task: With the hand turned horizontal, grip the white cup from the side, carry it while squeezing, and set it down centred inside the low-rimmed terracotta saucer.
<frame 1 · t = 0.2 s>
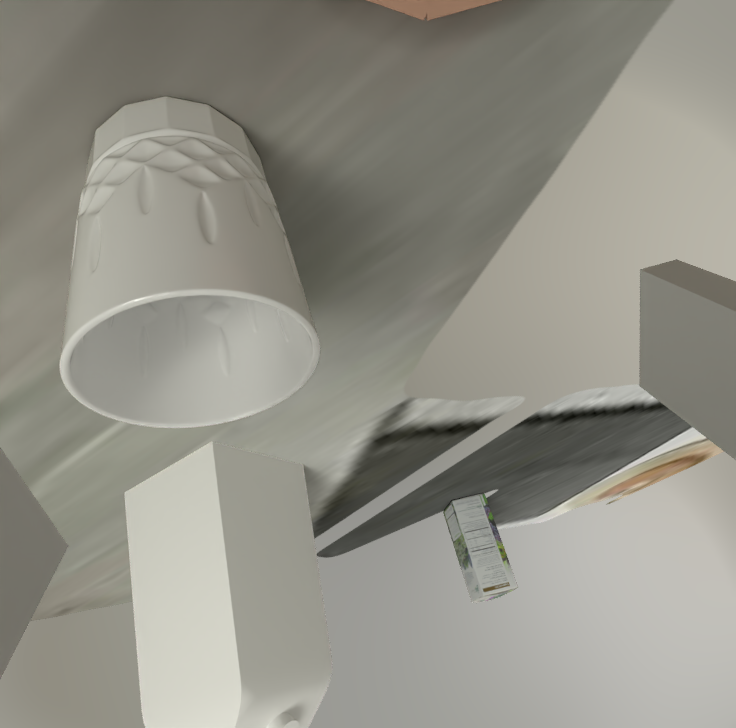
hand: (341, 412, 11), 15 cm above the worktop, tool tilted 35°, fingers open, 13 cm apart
syrup box: (461, 500, 84), on the worktop
milk: (218, 475, 50), on the worktop
white cup: (179, 169, 22), on the worktop
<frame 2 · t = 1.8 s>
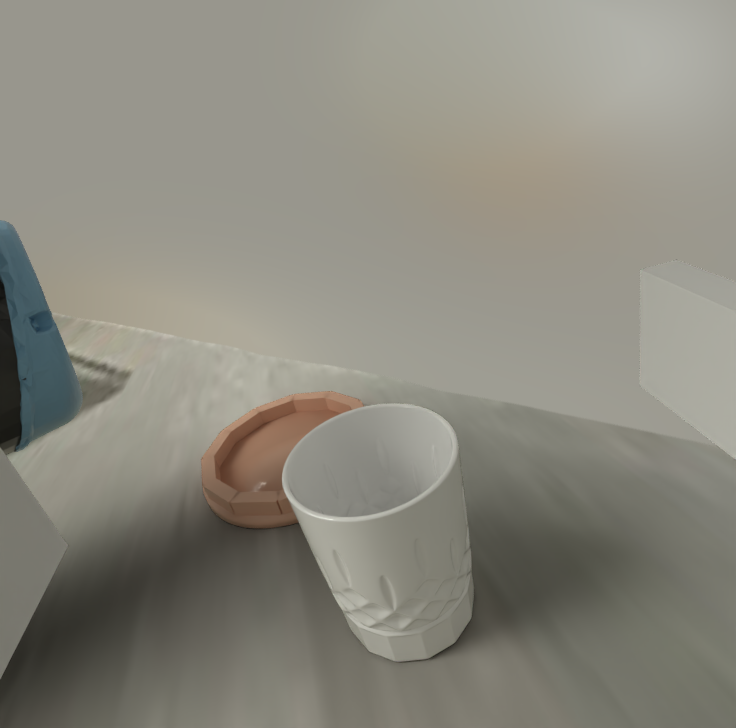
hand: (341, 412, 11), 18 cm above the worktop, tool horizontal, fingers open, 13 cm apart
saucer: (294, 460, 41), on the worktop
white cup: (411, 603, 28), on the worktop
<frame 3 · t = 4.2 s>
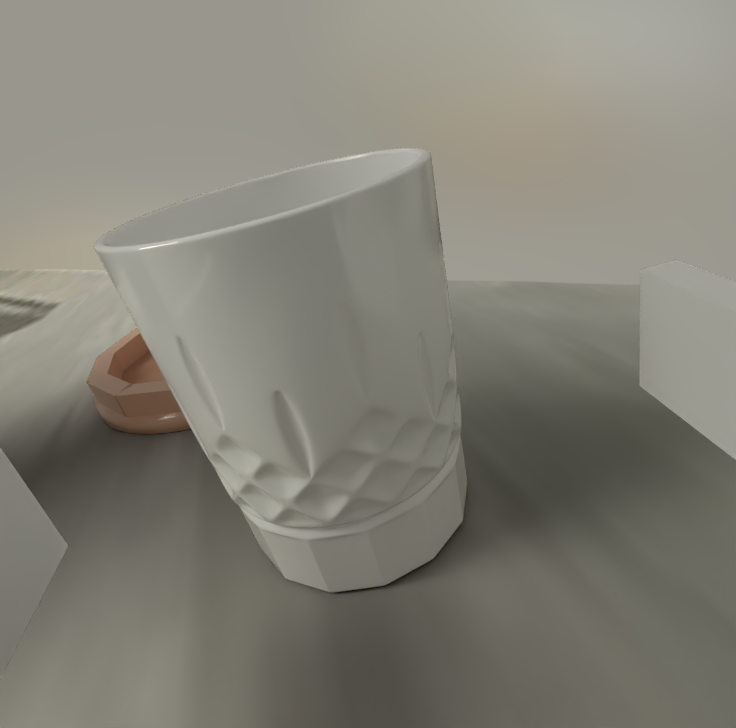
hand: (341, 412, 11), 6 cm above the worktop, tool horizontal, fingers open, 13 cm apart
saucer: (224, 360, 30), on the worktop
white cup: (365, 509, 17), on the worktop
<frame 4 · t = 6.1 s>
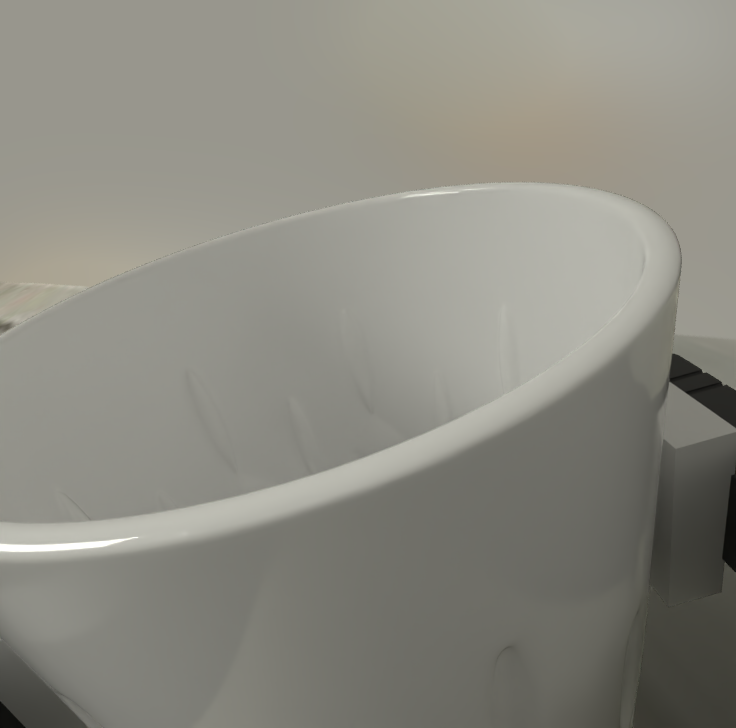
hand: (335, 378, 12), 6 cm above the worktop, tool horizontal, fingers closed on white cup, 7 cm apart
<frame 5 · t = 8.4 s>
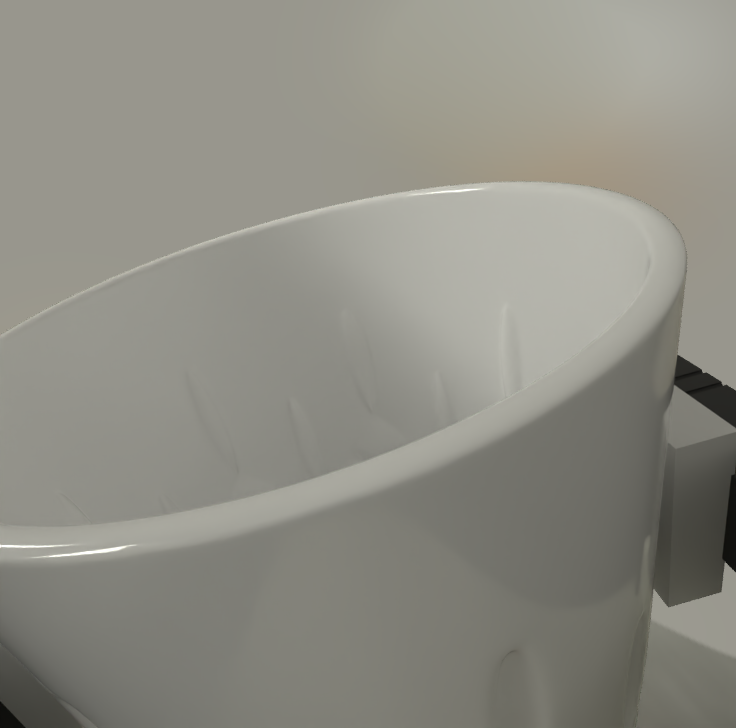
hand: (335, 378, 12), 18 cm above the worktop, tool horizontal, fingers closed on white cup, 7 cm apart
when the fingers open (8 cm above the worktop, at t = 10.9 s): white cup drops 1 cm, resting on saucer.
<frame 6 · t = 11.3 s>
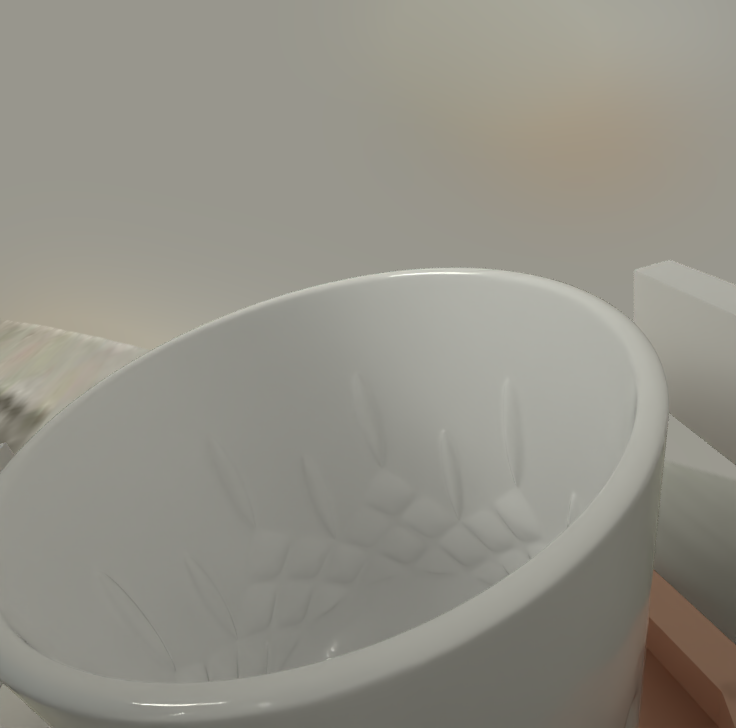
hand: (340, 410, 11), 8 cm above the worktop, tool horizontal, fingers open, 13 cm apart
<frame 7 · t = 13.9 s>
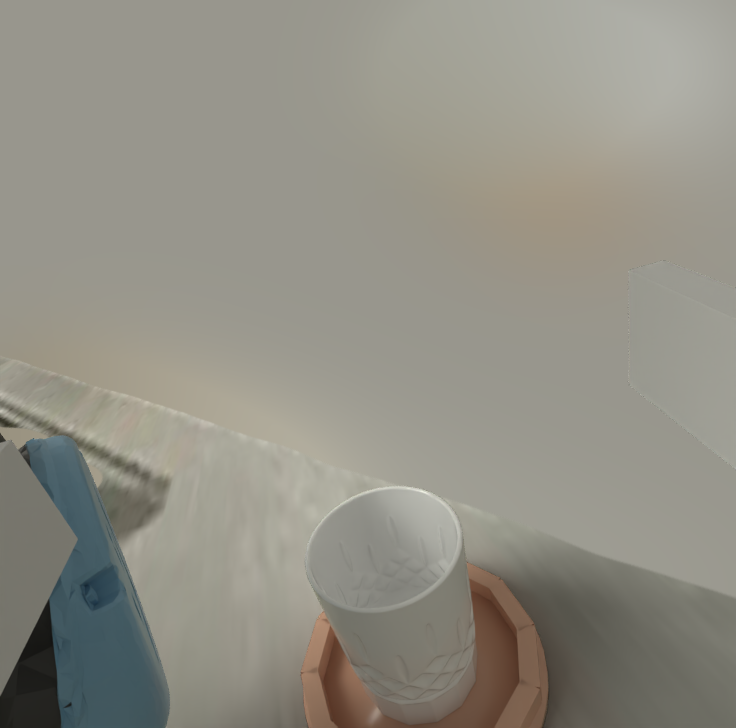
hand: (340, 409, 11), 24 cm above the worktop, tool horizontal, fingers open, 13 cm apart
saucer: (422, 670, 30), on the worktop
white cup: (420, 665, 30), point 1 cm above the worktop, touching saucer
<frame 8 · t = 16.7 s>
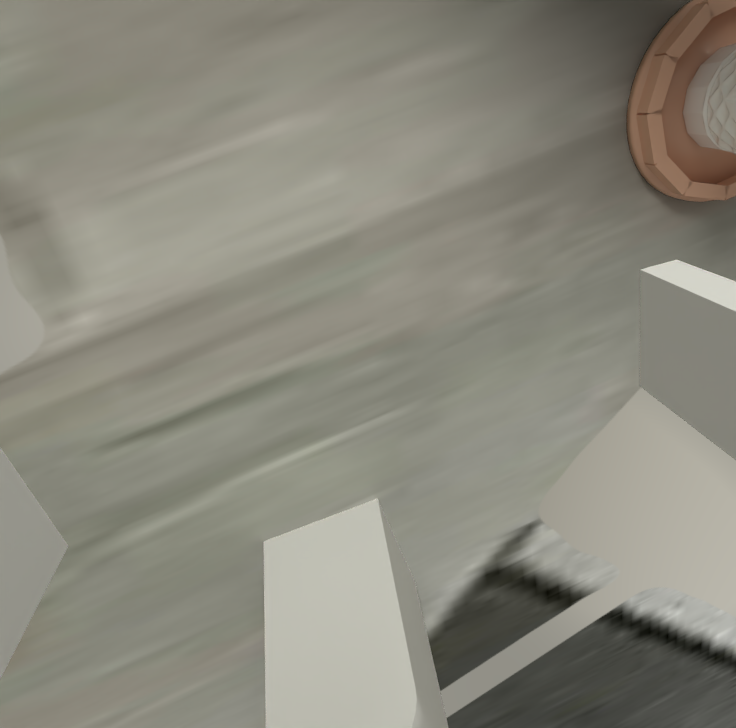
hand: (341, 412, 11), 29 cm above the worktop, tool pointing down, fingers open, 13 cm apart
saucer: (719, 98, 37), on the worktop
milk: (342, 560, 52), on the worktop
white cup: (724, 97, 37), point 1 cm above the worktop, touching saucer
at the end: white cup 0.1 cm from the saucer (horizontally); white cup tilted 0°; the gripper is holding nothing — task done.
